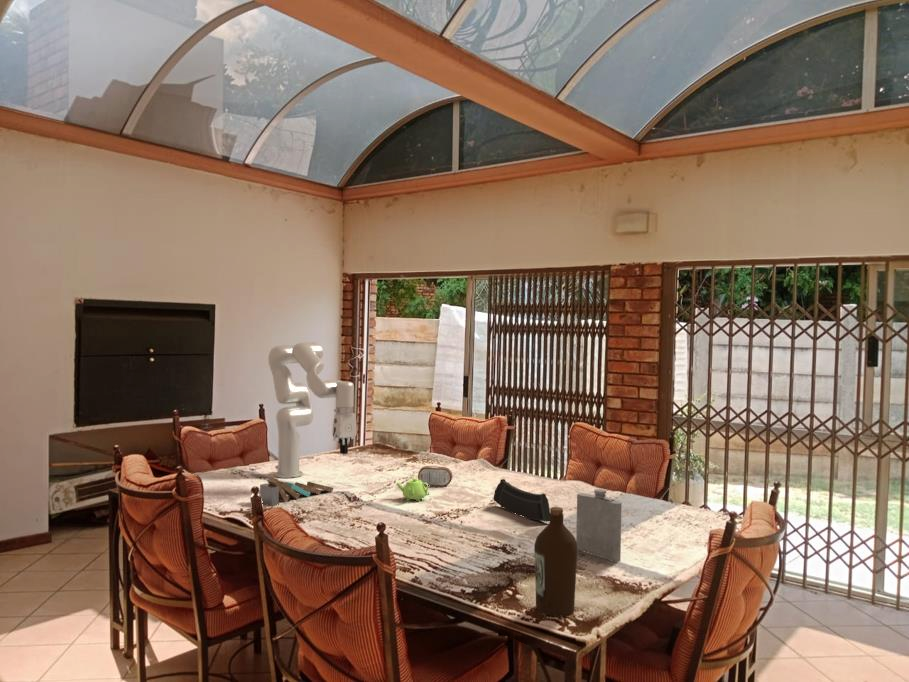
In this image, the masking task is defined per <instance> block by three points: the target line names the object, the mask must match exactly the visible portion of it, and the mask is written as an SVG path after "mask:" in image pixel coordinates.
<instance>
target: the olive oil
mask: <svg viewBox="0 0 909 682" xmlns="http://www.w3.org/2000/svg"><path fill="white" fill-rule="evenodd" d="M549 508H550V521H549V522H548V524H547V525H546V527H544V528H543V529H542V530H541V532H539V534H538V535H537V536H536V539H535V542H534V550H533V551H534V570H535V573H534V578H535V579H534V580H535V609H536V610H537V611H538V612H539V613H541V614H543V615H546V616H551V617H565V616H569V615H571V614H573V613H574V611H575V600H576V599H575V598H576V583H577V582H576V581H577V568H578V567H577V566H578V552H579V551H578V546H577V542H576V536H574V535H573V533H572V532H571V531H570V530H569V529H568V528H567V526H565V523H564V508H563V507H561V506H560V507H559V506H555V507H554V506H553V507H549Z"/></svg>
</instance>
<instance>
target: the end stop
mask: <svg viewBox="0 0 909 682" xmlns="http://www.w3.org/2000/svg"><path fill="white" fill-rule="evenodd" d="M260 497H261V498H262V501H263V503H264V505H266V504H268V506H270V505H272V506H271V507H274V506H279V504H280V502H279V501H280V500H279V487H278V486H274V485H271V484H269V483H268V482H266V483H261V484H260V485H259V498H260ZM263 503H262V504H263ZM277 504H278V505H277Z"/></svg>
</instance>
